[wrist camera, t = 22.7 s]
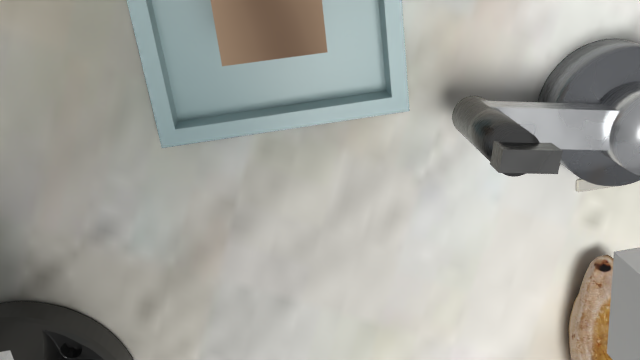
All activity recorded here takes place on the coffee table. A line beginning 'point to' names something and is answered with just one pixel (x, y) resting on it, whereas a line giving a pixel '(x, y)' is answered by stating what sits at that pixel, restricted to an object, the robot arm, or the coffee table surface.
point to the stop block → (268, 29)
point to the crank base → (593, 102)
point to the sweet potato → (592, 312)
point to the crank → (552, 130)
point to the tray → (268, 72)
